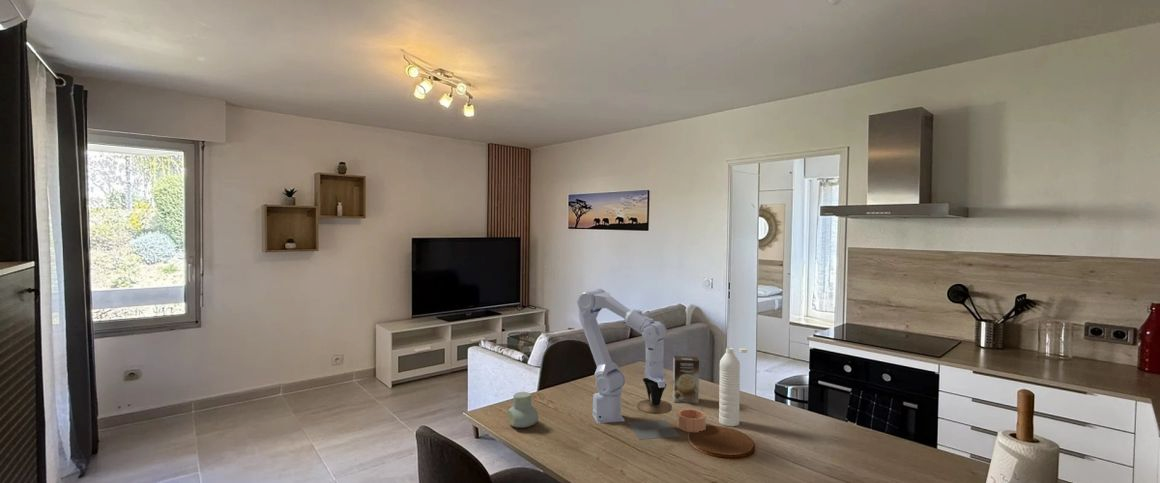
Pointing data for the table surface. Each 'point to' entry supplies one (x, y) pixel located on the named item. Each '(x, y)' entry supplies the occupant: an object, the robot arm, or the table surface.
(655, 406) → the lid
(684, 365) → the coffee box
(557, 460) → the table surface
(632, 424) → the mat
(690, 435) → the table surface
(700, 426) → the bowl
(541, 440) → the table surface
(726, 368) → the water bottle
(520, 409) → the air freshener
